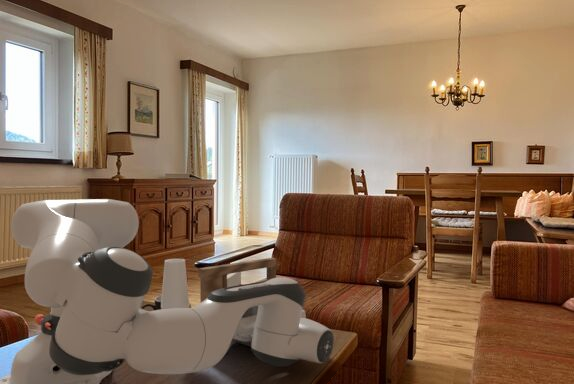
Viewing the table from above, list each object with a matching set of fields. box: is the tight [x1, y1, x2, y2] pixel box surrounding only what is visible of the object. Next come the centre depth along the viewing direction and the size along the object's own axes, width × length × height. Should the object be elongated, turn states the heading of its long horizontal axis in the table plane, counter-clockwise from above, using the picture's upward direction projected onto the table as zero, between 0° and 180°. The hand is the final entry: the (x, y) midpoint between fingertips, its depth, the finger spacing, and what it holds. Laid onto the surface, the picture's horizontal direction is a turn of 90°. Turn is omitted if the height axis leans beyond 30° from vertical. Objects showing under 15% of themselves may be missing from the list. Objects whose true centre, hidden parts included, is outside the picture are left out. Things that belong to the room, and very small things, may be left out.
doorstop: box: [235, 305, 259, 347], centre depth 123 cm, size 5×6×10 cm
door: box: [227, 272, 244, 350], centre depth 123 cm, size 12×3×18 cm, turn 169°
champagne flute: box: [161, 258, 190, 309], centre depth 112 cm, size 7×7×24 cm
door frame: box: [197, 257, 277, 355], centre depth 119 cm, size 23×2×22 cm, turn 132°
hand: (246, 316), depth 124 cm, fingers closed on doorstop, 5 cm apart
